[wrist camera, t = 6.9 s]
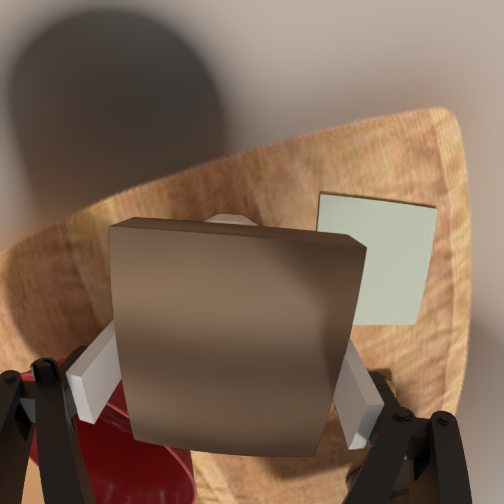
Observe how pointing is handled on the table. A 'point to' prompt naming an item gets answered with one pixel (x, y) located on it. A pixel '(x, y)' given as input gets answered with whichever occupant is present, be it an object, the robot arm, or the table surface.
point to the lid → (231, 332)
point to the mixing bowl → (128, 459)
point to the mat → (385, 254)
